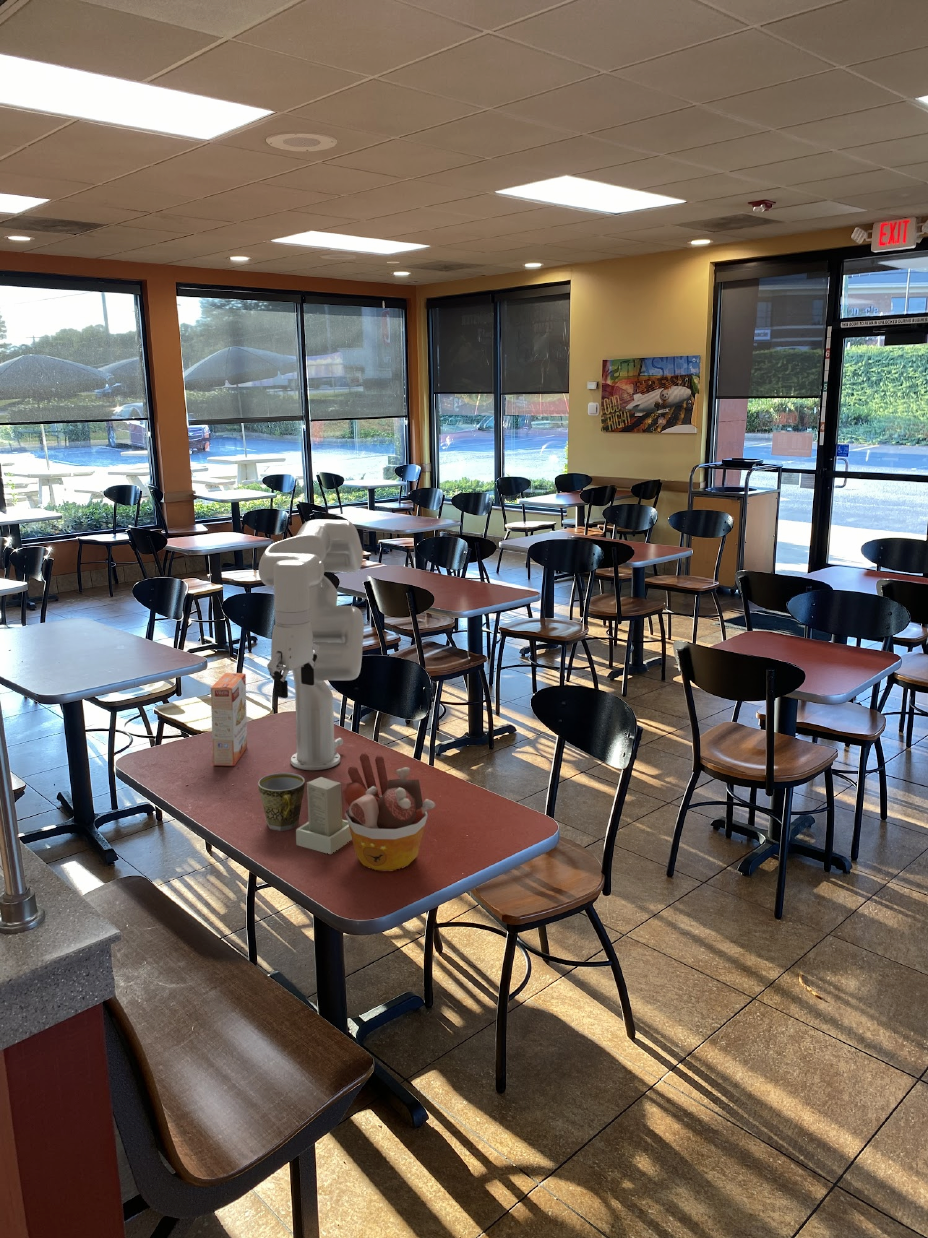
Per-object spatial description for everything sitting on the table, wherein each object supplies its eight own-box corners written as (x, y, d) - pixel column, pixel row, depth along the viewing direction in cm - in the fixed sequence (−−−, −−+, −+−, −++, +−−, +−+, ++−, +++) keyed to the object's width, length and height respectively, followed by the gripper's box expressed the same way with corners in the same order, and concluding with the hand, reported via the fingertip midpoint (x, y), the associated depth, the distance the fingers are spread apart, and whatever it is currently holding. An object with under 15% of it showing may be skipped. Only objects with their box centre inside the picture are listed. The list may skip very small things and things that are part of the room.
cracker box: (236, 767, 233) (233, 687, 229) (212, 766, 234) (208, 687, 229) (249, 747, 247) (246, 672, 243) (226, 747, 247) (223, 671, 243)
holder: (321, 829, 200) (321, 814, 199) (354, 837, 196) (354, 822, 195) (296, 845, 192) (296, 829, 192) (330, 854, 188) (330, 838, 188)
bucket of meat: (446, 868, 184) (447, 774, 179) (373, 890, 175) (372, 791, 170) (396, 830, 200) (396, 743, 196) (327, 848, 191) (325, 757, 187)
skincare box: (343, 837, 194) (342, 783, 191) (328, 845, 190) (327, 789, 188) (322, 829, 198) (321, 775, 195) (307, 836, 194) (306, 782, 192)
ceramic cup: (255, 818, 204) (253, 776, 202) (300, 811, 208) (299, 770, 206) (267, 843, 193) (266, 799, 191) (314, 835, 197) (313, 792, 195)
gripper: (302, 606, 211) (304, 677, 216) (253, 623, 196) (256, 699, 201) (329, 610, 208) (330, 682, 213) (282, 627, 193) (284, 705, 198)
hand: (294, 690), depth 207 cm, fingers open, 9 cm apart
